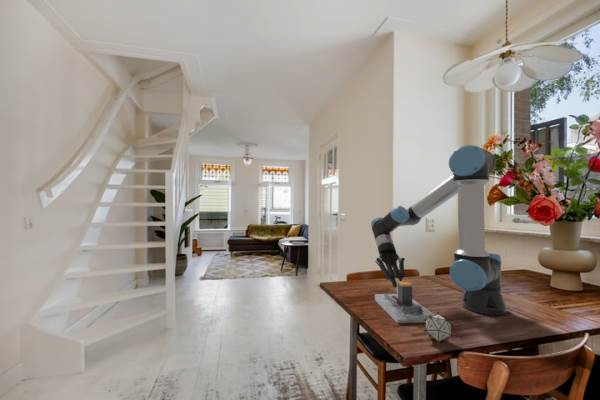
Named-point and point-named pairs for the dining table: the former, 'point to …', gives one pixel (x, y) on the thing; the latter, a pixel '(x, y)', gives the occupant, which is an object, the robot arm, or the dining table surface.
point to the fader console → (402, 309)
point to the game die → (438, 327)
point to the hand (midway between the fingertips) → (400, 294)
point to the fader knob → (404, 293)
